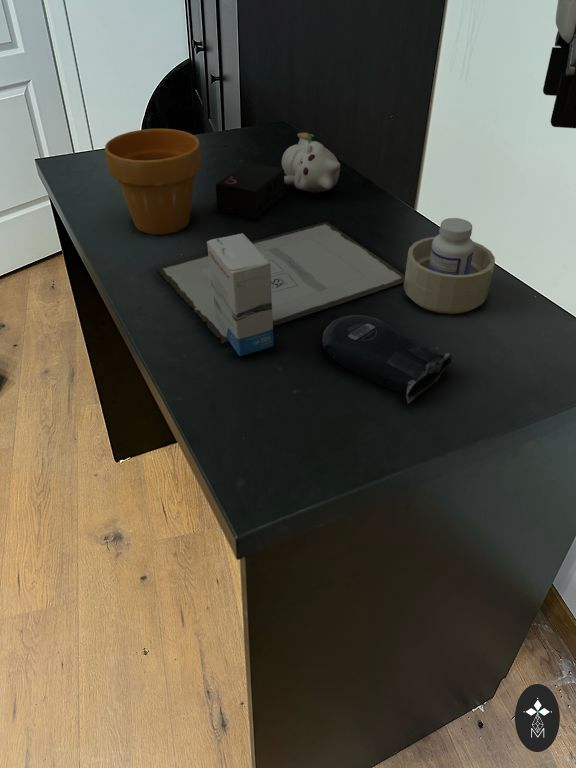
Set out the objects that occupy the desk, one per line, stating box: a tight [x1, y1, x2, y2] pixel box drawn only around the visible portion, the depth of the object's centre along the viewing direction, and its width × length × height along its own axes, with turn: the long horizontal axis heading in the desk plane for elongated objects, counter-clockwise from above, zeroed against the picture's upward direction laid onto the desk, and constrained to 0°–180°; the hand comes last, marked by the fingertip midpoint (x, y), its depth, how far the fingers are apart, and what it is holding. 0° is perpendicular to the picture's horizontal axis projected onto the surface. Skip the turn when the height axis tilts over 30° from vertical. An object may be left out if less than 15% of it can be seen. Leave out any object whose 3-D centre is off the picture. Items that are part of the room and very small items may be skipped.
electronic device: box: [215, 161, 285, 220], centre depth 111 cm, size 7×11×5 cm
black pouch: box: [321, 314, 453, 405], centre depth 77 cm, size 9×6×15 cm
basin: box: [403, 236, 496, 315], centre depth 88 cm, size 11×11×6 cm
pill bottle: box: [428, 217, 474, 275], centre depth 86 cm, size 5×5×10 cm
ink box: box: [206, 232, 275, 357], centre depth 78 cm, size 9×5×12 cm, turn 25°
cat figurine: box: [281, 132, 341, 194], centre depth 116 cm, size 10×8×15 cm
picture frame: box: [155, 221, 405, 344], centre depth 94 cm, size 22×1×30 cm
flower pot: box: [104, 128, 202, 236], centre depth 103 cm, size 14×14×13 cm
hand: (564, 110), depth 58 cm, fingers open, 9 cm apart
